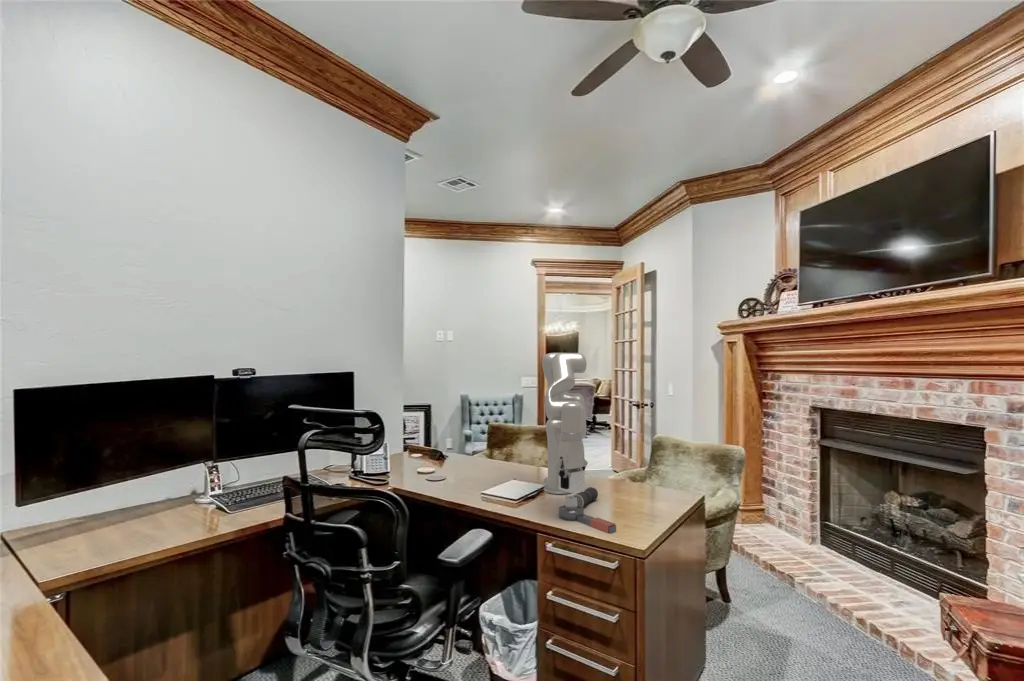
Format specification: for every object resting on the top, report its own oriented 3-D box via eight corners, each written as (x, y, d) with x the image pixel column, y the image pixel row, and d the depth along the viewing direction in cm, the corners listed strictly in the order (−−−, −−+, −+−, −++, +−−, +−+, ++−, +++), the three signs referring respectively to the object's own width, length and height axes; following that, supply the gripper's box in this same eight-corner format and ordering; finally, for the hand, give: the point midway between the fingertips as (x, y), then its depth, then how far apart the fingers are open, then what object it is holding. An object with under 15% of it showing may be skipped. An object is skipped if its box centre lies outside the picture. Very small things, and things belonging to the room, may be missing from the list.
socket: (558, 489, 176) (558, 469, 176) (571, 486, 180) (571, 467, 180) (571, 493, 171) (571, 473, 171) (584, 490, 175) (584, 470, 175)
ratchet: (621, 529, 163) (621, 508, 163) (603, 535, 157) (603, 513, 157) (571, 511, 182) (571, 492, 182) (553, 516, 176) (553, 496, 176)
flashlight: (586, 498, 200) (586, 485, 200) (599, 500, 197) (599, 487, 197) (570, 507, 187) (570, 493, 187) (583, 510, 184) (583, 495, 184)
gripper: (580, 433, 185) (580, 481, 184) (546, 437, 174) (546, 488, 173) (595, 436, 179) (595, 485, 178) (561, 440, 168) (561, 492, 167)
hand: (571, 486), depth 176 cm, fingers closed on socket, 6 cm apart
